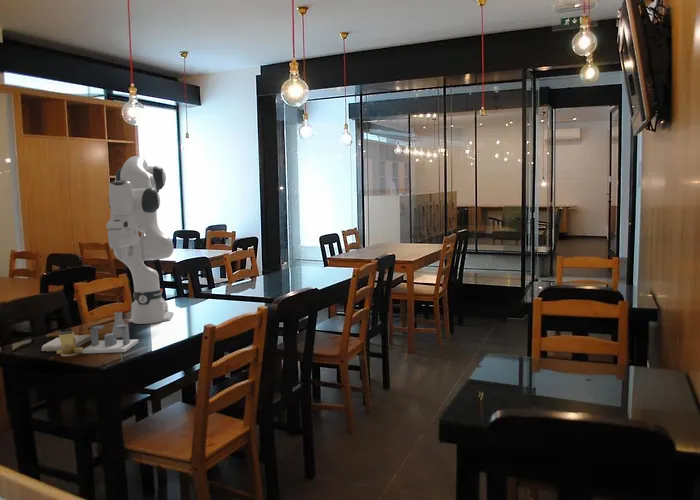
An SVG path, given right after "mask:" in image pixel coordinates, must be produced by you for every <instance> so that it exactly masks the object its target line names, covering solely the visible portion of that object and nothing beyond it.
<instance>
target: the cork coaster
mask: <svg viewBox="0 0 700 500" xmlns="http://www.w3.org/2000/svg"><path fill="white" fill-rule="evenodd" d="M80 354H83V353H82V351H77V352H73V353H68V354H63V353H61V354H60V356H61V357H74V356H78V355H80Z"/></svg>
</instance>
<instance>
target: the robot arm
mask: <svg viewBox="0 0 700 500" xmlns="http://www.w3.org/2000/svg"><path fill="white" fill-rule="evenodd" d="M115 172H116V173H115V177H114V179H115V180H114V181H111V182H109V188H108V206H109V208H110V218H109V220H108V221H107V222H106V224H105V226H106V227H105V228H106V229H107V239H108V245H109V248H110V249H111V250H113V254H114V256H115V257H116V259H117V260H118V261H120V262H121V263H123V264H124V265H125V266H126V267H127V268H128V269H129V271H130V273H131V277H132V281H133V290H134V291H133V300H134V301H133V302H131V318H129V319H128V322H129V323H133V324H136V325H137V324H138V325H143V324H144V325H145V324H146V325H148V324H154V323H155V324H157V323H160V322H167V321H170V320H171V319H172V317H173V315H174V312H173V311H169V305H168V302H167V301H166V300H165V298H164V297H163V295H162V293H164V291H163V288H160V287H161V286H160V275H159V273H158V271H157V270H156V269H153V268H152V267H149V266H147V265H146V264H145V263H144V262H145V261H157V260H164V259H168V258H170V257H171V256H172V255H173V252H174V249H175V248H174V243H173V241H172V239H171V238H170V237H169V236H167V235H165V234H164V233H163V231H162V230H161V229H160V227H159V225H158V217H157V215H158V213H157V210H159V208H160V206H161V197H160V195H159V192H160V190H162V189H163V188H164V186H165V185H166V180H167V176H166V173H165V170H164V168H163V167H162V166H158V165H154V166H152V165H150V166H149V165H148V163H147V161H146V159H145V158H143V157H141V156H139V155H133V156H131V157H130V156H129V157H128V158H127V160H126V161H125V162H124V163H123V165H122V167H120V168H118V169H117V170H116V171H115ZM139 232H140V233H143V234H145V235H144V236H139Z"/></svg>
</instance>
